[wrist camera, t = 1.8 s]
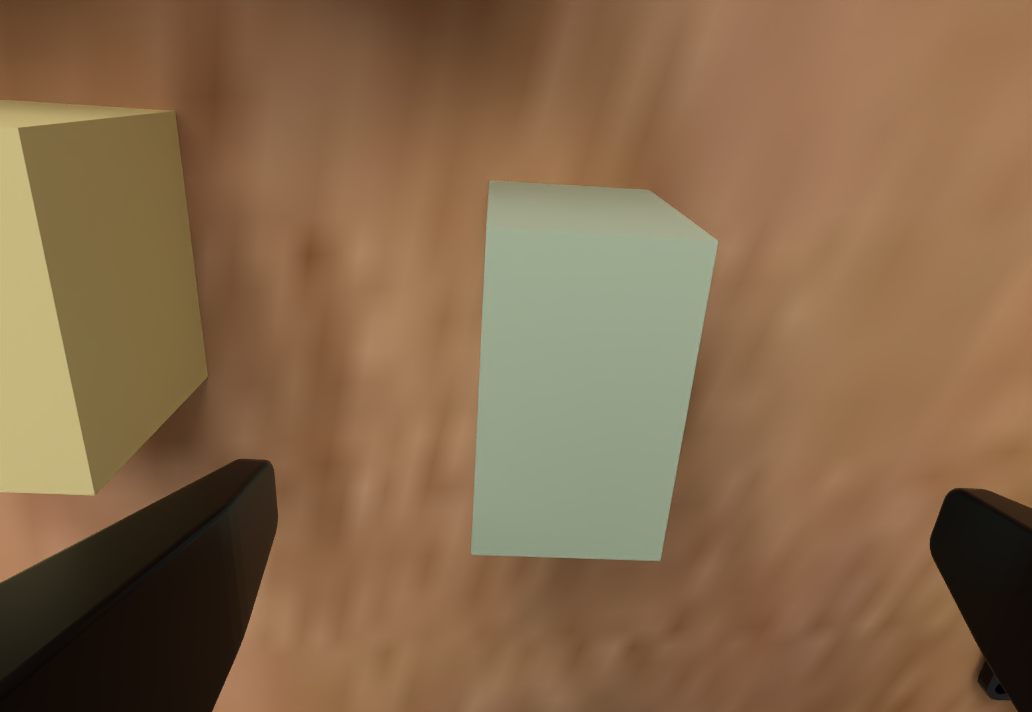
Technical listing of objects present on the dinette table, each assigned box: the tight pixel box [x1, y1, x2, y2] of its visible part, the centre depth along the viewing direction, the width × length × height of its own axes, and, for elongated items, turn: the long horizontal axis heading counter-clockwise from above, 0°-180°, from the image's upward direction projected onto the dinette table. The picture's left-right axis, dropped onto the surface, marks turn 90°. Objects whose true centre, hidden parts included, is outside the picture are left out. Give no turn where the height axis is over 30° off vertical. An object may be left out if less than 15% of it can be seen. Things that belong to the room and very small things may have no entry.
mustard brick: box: [0, 100, 208, 495], centre depth 13 cm, size 6×4×5 cm, turn 176°
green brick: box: [471, 180, 718, 561], centre depth 13 cm, size 6×4×5 cm, turn 176°
